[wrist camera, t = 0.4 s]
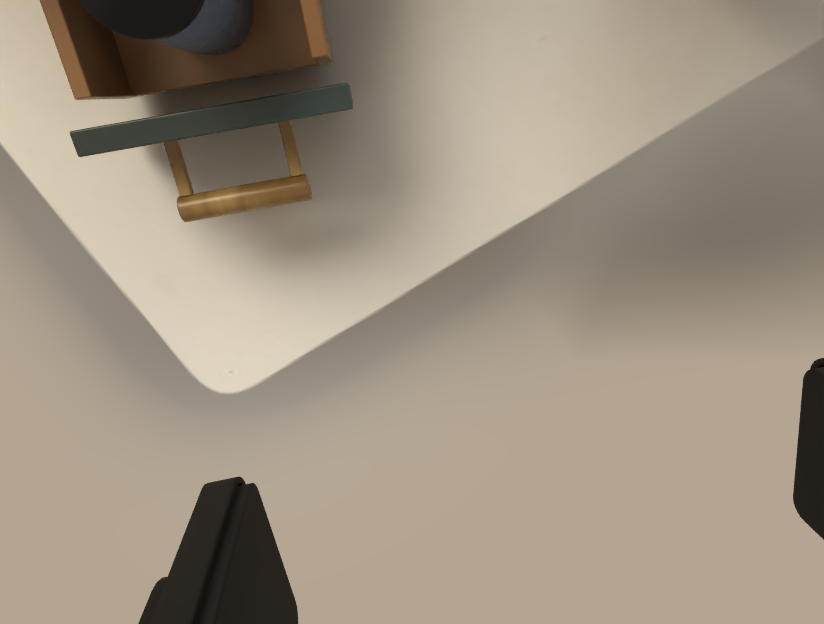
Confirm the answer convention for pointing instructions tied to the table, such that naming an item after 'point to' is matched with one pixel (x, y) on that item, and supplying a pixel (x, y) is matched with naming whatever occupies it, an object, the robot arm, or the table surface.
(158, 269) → the table surface
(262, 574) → the robot arm
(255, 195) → the drawer
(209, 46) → the tin
